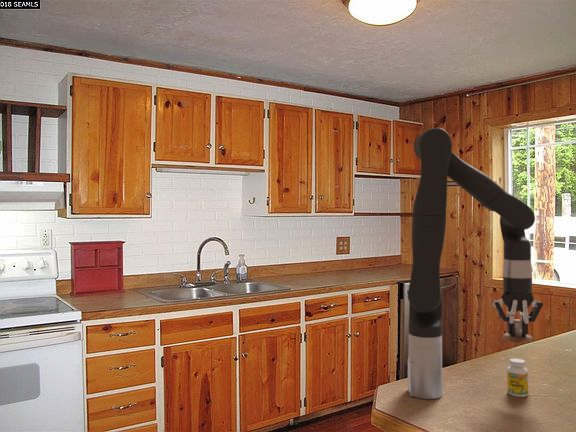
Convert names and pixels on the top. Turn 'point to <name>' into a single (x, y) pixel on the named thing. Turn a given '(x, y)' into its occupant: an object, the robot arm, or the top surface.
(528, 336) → the lid
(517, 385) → the supplement bottle
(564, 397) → the top surface
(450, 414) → the top surface
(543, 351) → the top surface
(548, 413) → the top surface
